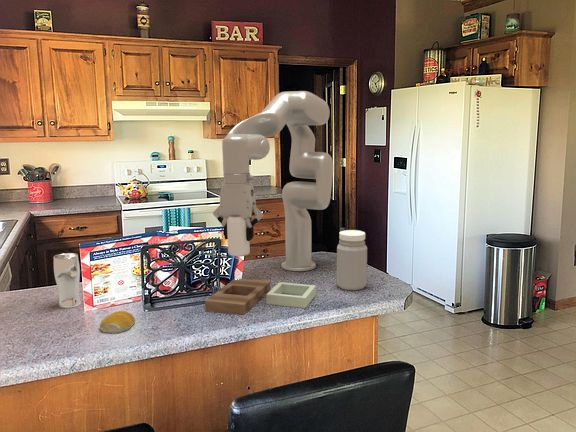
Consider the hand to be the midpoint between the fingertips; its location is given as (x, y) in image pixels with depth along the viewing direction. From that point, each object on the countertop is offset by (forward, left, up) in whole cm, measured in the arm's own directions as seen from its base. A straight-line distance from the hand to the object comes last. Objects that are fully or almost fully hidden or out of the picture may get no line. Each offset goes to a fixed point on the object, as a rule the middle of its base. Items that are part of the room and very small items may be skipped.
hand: (238, 238), depth 153 cm
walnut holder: (0, 0, -19) cm, 19 cm away
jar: (-22, +30, -19) cm, 42 cm away
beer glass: (+18, -47, -19) cm, 54 cm away
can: (0, 0, -5) cm, 5 cm away
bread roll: (+29, -23, -19) cm, 42 cm away
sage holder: (-5, +15, -19) cm, 25 cm away
